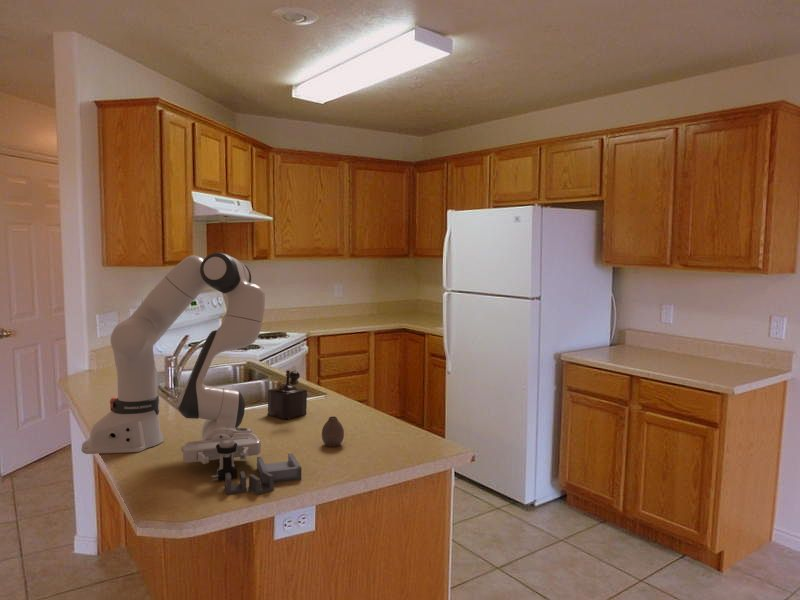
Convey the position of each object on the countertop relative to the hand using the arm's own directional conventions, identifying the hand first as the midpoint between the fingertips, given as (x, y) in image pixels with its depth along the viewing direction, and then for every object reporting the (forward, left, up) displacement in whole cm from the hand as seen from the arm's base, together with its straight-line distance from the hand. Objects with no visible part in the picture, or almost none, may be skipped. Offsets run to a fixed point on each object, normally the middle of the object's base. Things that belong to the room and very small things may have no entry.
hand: (224, 458), depth 150 cm
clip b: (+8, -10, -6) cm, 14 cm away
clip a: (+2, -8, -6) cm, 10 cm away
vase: (+34, +17, -6) cm, 38 cm away
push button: (0, 0, -6) cm, 6 cm away
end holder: (+14, -1, -6) cm, 15 cm away
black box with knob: (+28, +52, -6) cm, 59 cm away
